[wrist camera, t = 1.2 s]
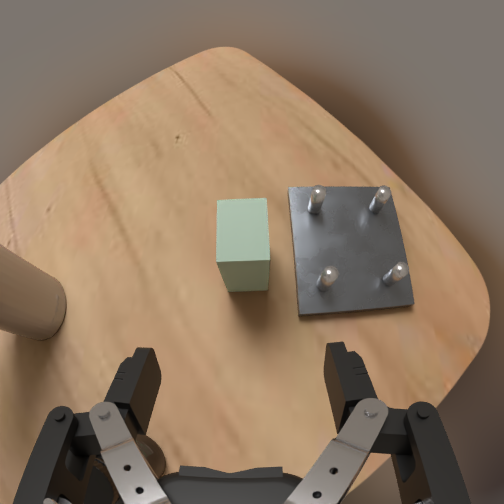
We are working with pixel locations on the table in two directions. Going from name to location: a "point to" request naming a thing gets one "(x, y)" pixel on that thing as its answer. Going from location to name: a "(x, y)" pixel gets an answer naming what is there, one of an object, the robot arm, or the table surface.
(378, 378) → the table surface
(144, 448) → the supplement bottle
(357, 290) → the plate
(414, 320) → the table surface
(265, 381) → the table surface
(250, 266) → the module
